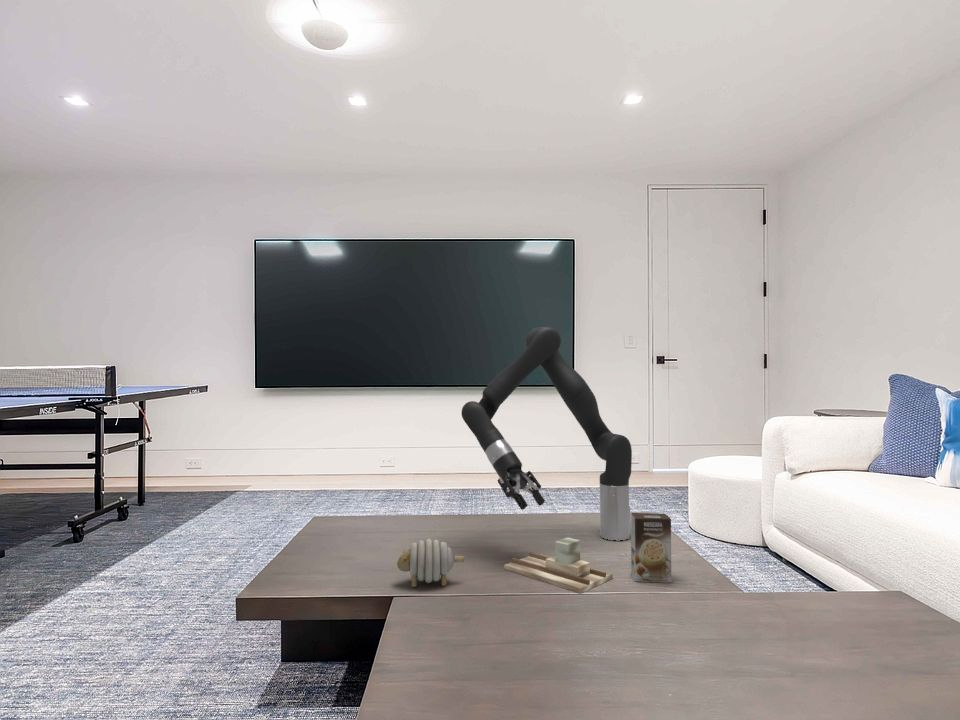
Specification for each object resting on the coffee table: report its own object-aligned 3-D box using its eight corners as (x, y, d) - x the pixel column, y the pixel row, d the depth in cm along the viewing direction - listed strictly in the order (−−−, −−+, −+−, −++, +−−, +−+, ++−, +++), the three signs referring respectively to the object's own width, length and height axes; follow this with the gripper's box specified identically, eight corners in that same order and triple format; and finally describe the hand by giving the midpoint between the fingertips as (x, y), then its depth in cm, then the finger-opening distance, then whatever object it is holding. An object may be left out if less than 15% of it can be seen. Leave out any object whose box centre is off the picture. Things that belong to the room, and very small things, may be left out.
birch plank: (537, 557, 164) (537, 549, 164) (612, 578, 146) (612, 569, 146) (504, 569, 154) (504, 560, 154) (580, 593, 137) (580, 584, 137)
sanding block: (558, 565, 153) (558, 535, 154) (590, 574, 146) (589, 542, 147) (546, 570, 150) (545, 539, 150) (577, 579, 142) (576, 547, 143)
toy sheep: (396, 578, 148) (396, 535, 148) (461, 574, 151) (460, 532, 151) (397, 593, 138) (397, 547, 138) (466, 588, 140) (466, 543, 141)
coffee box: (635, 582, 144) (634, 518, 144) (631, 573, 150) (629, 512, 150) (672, 583, 143) (671, 518, 143) (666, 574, 149) (665, 512, 150)
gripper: (495, 452, 158) (527, 501, 151) (525, 449, 169) (556, 494, 162) (480, 468, 162) (510, 517, 154) (510, 465, 173) (539, 510, 165)
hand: (533, 505), depth 158 cm, fingers open, 8 cm apart
